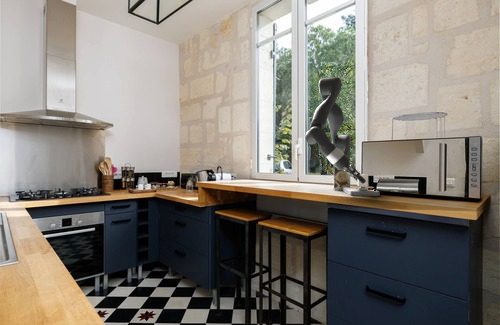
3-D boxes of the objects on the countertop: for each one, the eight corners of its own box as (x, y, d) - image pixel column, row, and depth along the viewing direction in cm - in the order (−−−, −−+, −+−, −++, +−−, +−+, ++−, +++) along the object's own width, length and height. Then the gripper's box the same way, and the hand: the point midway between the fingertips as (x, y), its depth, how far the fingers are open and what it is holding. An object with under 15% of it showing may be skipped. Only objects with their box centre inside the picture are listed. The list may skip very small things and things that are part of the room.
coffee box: (333, 190, 159) (333, 162, 159) (333, 189, 165) (333, 162, 165) (350, 190, 156) (350, 161, 156) (350, 189, 162) (349, 162, 162)
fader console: (343, 191, 153) (343, 187, 153) (368, 191, 151) (368, 187, 151) (350, 195, 132) (350, 191, 132) (379, 195, 130) (379, 191, 130)
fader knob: (357, 189, 138) (357, 173, 138) (366, 189, 137) (366, 174, 137) (358, 190, 134) (358, 174, 134) (368, 190, 133) (368, 174, 133)
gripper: (346, 152, 130) (372, 177, 128) (341, 153, 144) (364, 175, 142) (334, 163, 131) (360, 188, 129) (330, 163, 145) (353, 186, 143)
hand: (362, 181), depth 136 cm, fingers open, 8 cm apart
